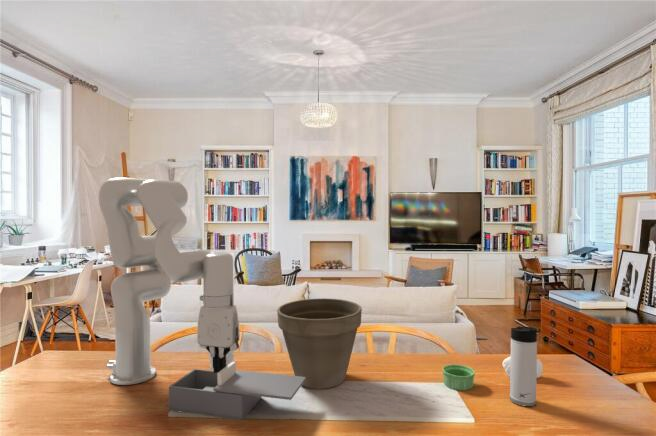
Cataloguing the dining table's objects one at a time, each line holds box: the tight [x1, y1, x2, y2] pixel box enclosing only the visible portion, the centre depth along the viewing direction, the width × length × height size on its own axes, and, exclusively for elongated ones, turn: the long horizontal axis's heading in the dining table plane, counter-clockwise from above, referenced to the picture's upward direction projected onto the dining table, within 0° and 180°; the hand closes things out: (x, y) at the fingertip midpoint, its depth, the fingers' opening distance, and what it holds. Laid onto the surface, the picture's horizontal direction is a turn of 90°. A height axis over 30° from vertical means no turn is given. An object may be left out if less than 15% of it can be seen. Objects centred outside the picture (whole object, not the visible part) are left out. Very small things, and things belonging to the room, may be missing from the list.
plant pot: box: [276, 297, 363, 390], centre depth 124 cm, size 25×25×22 cm
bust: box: [502, 355, 544, 379], centre depth 127 cm, size 12×8×11 cm
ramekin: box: [441, 363, 476, 392], centre depth 120 cm, size 9×9×4 cm
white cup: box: [208, 347, 235, 371], centre depth 129 cm, size 8×8×10 cm
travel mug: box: [509, 326, 538, 407], centre depth 109 cm, size 6×7×20 cm
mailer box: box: [168, 368, 263, 421], centre depth 108 cm, size 20×12×6 cm, turn 76°
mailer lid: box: [213, 361, 306, 401], centre depth 105 cm, size 20×12×4 cm, turn 76°
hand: (219, 370), depth 108 cm, fingers closed
